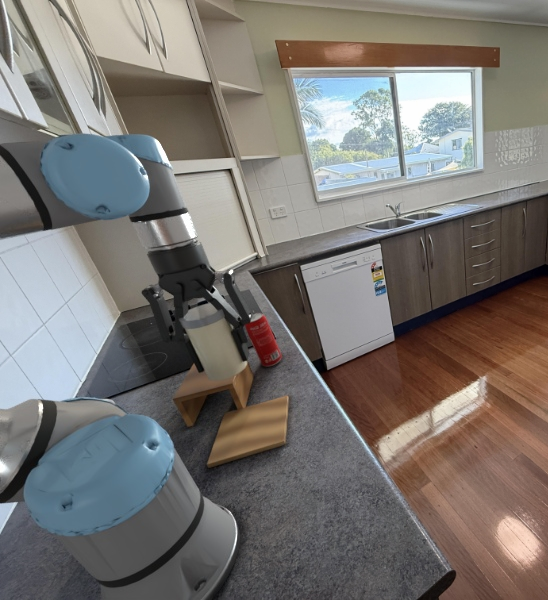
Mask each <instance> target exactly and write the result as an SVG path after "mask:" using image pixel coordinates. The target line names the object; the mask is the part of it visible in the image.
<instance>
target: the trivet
mask: <svg viewBox="0 0 548 600" xmlns="http://www.w3.org/2000/svg"><path fill="white" fill-rule="evenodd" d="M289 403H290V398H289V395H284V396H281V397H278V398H273V399H271V400H266V401H264V402H259V403H256V404H253V405H249V406H246V407H245V408H241V409H235V410H231V411H227V412H224V413H223V417H222V419H221V422H220V425H219V428H218V431H217V434H216V437H215V439H214V441H213V445H212V449H211V451H210V453H209V456H208V459H207V462H206V466H207V468H208V469H211V468H213V467H216V466H220V465H223V464H226V463H230V462H233V461H236V460H240V459H242V458H243V459H244V458H246V457H250V456H253V455H255V454H259V453H262V452H266V451H269V450H272V449H275V448H278V447H281V446H284V445H286V443H287V442H286V441H287V431H288V430H287V428H288V418H289V405H290V404H289Z"/></svg>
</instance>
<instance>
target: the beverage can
mask: <svg viewBox="0 0 548 600" xmlns="http://www.w3.org/2000/svg"><path fill="white" fill-rule="evenodd" d="M252 315H253V316H252V319H251V322H250V323H249V324H246V325H245V328H246V330H247V333H248V335H249V340H250V343H251V344H252V347H253V349H254V352H255V353H256V356H257V358H258V360H259V362H260V364H261V365H262V366H263V367H267V368H269V367H272V366H273V367H274V366H275V365H277V364H278V363H280V361H281V360H282V357H283V355H282V352H281V351H280V348H279V346H278V344H277V341H276V339H275V335H274V334H273V331H272V329H271V327H270V324H269V322H268V320H267V317H266V316H265V315H264V314H263V312H260V311H259V312H252Z"/></svg>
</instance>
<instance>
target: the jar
mask: <svg viewBox="0 0 548 600" xmlns="http://www.w3.org/2000/svg"><path fill="white" fill-rule="evenodd" d="M224 317H225V315H224V313H223V310H222V309H221V310H217V309H216V308H215V307H214V306H213V305H212V304H211V303H210V302H207V303H205V304H201V305H197V306H195V307H193V308H190V309H188V313H187V314H186V315H185V316H184V317H183V318H180V319H179V322H180V324H181V326H182V327H183V328H184V329H185V331H186V333H187V335H188V337H189V339H190V341H191V343H192V346H193V348H194V350H195V352H196V354H197V356H198V358H199V360H200V362H201V364H202V367H203V369H204V371H205V373H206V375H207V377H208V379H209V380H211V381H221V380H225V379H228V378H231V377H233V376H235V375H237V374H238V373H240V372H241V371H242V370H243V369H244V368H245V367H246V366H247V361H244V362H243V360H242V357H241V355H240V353H239V350H238V348H237V345H236V343H235V340H234V338H233V335H232V333H231V331H232V329H233V326H232V325H231V324H230V323H229V322H228V321H227V320H226V319H225V318H224Z"/></svg>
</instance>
